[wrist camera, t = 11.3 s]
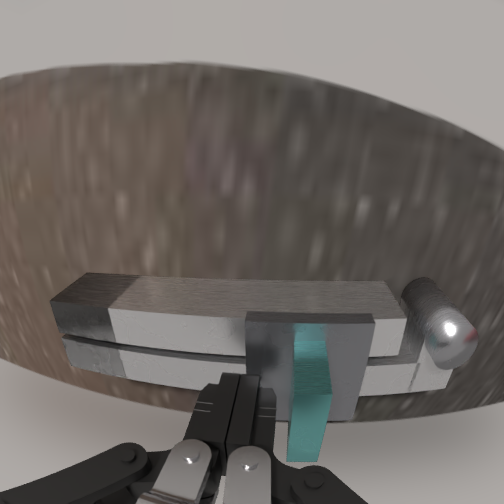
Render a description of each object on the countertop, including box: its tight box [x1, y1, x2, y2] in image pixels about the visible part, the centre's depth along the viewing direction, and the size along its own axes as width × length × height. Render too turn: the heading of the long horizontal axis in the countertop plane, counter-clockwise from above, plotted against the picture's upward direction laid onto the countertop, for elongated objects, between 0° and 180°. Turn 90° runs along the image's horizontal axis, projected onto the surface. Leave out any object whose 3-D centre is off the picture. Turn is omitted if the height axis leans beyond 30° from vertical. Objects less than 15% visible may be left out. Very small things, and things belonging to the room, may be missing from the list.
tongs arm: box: [50, 273, 407, 357], centre depth 16 cm, size 18×2×4 cm, turn 91°
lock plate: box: [245, 311, 376, 462], centre depth 11 cm, size 5×6×4 cm
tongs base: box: [61, 277, 478, 396], centre depth 15 cm, size 21×5×5 cm, turn 90°
